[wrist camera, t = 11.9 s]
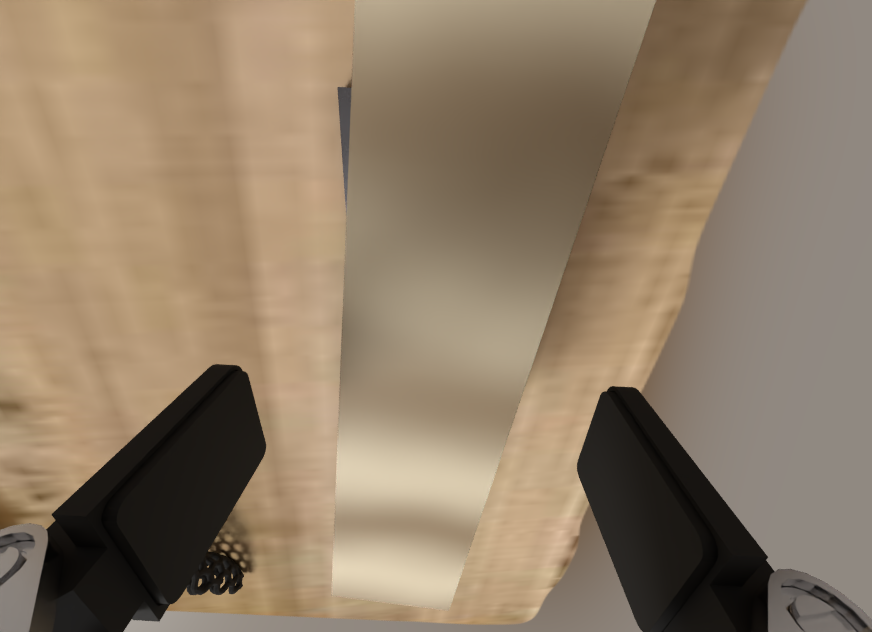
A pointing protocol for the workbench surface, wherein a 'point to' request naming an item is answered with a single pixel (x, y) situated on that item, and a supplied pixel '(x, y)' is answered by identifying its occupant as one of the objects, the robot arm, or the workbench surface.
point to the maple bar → (456, 258)
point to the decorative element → (216, 568)
